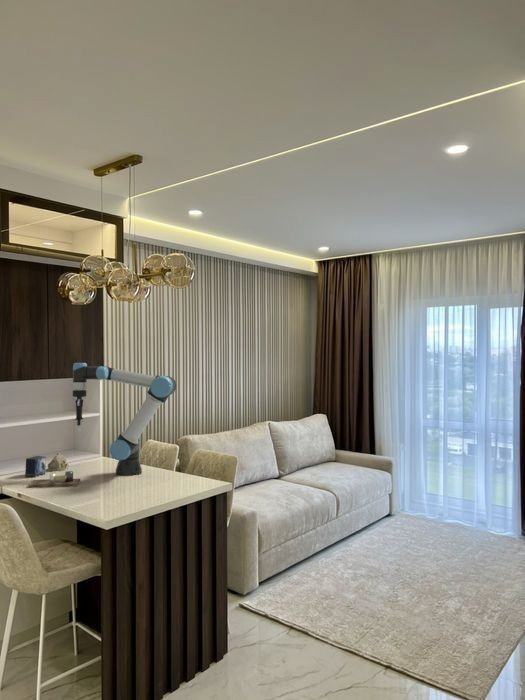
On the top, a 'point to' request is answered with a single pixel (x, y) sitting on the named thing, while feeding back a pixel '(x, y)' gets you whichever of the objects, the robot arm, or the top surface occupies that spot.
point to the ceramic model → (58, 463)
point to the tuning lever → (62, 476)
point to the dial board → (54, 483)
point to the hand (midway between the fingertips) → (78, 430)
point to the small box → (35, 466)
